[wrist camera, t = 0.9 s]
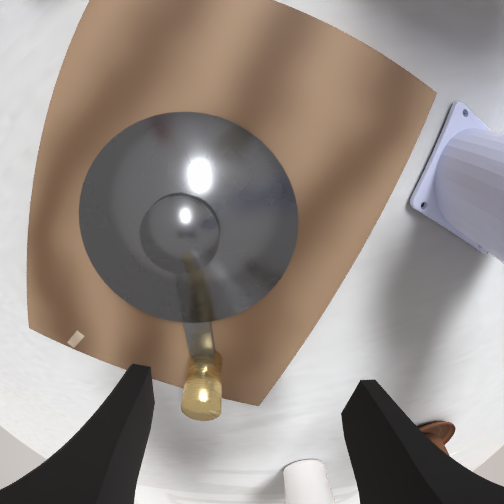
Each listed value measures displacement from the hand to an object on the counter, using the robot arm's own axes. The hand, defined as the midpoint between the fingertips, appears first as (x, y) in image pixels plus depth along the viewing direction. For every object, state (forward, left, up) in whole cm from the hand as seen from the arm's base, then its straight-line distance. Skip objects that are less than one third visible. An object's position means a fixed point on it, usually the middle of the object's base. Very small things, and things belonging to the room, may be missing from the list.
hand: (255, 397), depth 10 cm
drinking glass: (-18, +25, -10) cm, 32 cm away
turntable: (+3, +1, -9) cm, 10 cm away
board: (+4, -1, -10) cm, 11 cm away
